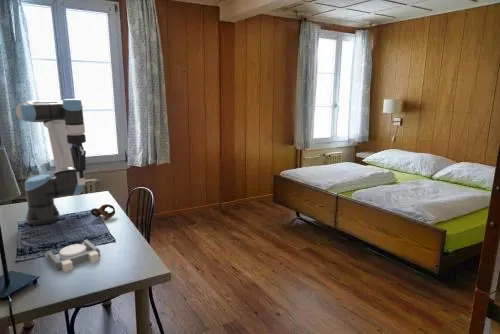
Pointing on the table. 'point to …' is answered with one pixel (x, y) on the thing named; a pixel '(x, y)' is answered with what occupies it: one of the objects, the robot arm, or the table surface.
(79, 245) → the white round disc
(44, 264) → the table surface
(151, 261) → the table surface
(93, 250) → the grey u-shaped frame
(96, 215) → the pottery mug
